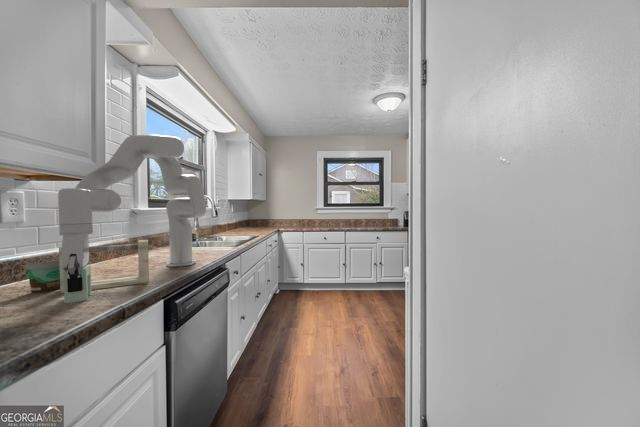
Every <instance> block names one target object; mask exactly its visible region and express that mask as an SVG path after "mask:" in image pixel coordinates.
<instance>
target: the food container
mask: <svg viewBox="0 0 640 427" xmlns="http://www.w3.org/2000/svg"><path fill="white" fill-rule="evenodd" d="M24 270H27V275H28V280H29V286H30V292H31V293H33V294H34V293H35V294H36V293H39V294H40V293H47V292H54V291H58V290H60V264H59V259H56V260H55V259H54V260H52V259H51V260H45V261H40V262H39V261H38V262H37V261H36V262H26V264H25V266H24Z"/></svg>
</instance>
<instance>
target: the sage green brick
mask: <svg viewBox="0 0 640 427" xmlns="http://www.w3.org/2000/svg"><path fill="white" fill-rule="evenodd" d="M75 267H79V266H75ZM91 268H92V266H91V264H89V263H87V264H86V265H85V266H84V267H83V268H81V277H82V287H83V289H82V291H77V292H68V287H67V279H68V278H67V276H68V268H67V269H65V270H64V271H63V275H64V293H63V297H64V298H63V299H64V302H63V304H70V303H79V302H86V301H88V300H89V296H91V295H92V290H91V281H92V269H91ZM77 271H78V270H77Z"/></svg>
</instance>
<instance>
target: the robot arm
mask: <svg viewBox="0 0 640 427" xmlns="http://www.w3.org/2000/svg"><path fill="white" fill-rule="evenodd" d="M184 152H185V144H184V142H183V141H182V140H181V138H179V137H177V136H171V135H161V134H135V135H129V136H127V137H126V138H125V139H124V140H123V142H122V143H121V144H120V145H119V146H118V148H117V149H116V151H115V152H114V154H113V155H112V156H111V158H110V159H109V160H108V161H107V162H106V163H104V164H102V165H100V166H99V167H97V168H95V169H94V170H93V171H91V172H89V173H87V174H86V175H85V176H84V177H83V178H82V179H80V181H79V182H78V183H77V185H76V186H75V188H74V187H73V188H72V187H71V188H69V187H68V188H67V187H66V188H61V189H59V190H58V193H57V201H58V202H57V203H58V204H57V205H58V207H57V208H58V229H59V230H58V231H59V232H58V234H59V236H61V237H62V241H61V246H62V258H61V268H62V269H63V270H65V269H67V268H68V276H67V278H68V279H67V287H68V292H77V291H82V289H83V287H82V277H81V268H83V267H84V266H85V265H88V264H89V262H90V253H89V247H90V242H89V239H90V238H89V235H93V233H94V232H93V228H94V227H93V213H110V212H114V211H116V210H117V209H119V208H120V206H121V204H122V197H121V195H120V194H119V193H118V192H116V191H114V190H112V189H107V188H109V187H110V186H111V187H112V186H113V185H115V184H118V183H121V182H123V181H124V182H125V181H126V180H128V179H131V178H132V177H134V175H136V172H137V171H138V169H139V168H140V167H141V165H142V163H143V162H144V160H145V159H149V158H150V159H153V161H154V162H156V164H157V165H158V167H159V170H160V173H161V176H162V180H163V185H164V189H165V191H166V193H167V194H168V195H170V196H175V198H171V199H169V200H168V201H167V203H166V205H165V206H166V214H167V218H168V224H169V225H168V226H169V227H168V228H169V229H168V230H169V234H168V235H169V261H167V262H166V267H186V266H192V265H195V264H196V263H197V260H196V259H193V227H192V224H191V221H190V220H189V219H198V218H203V216H206V213H207V204H206V199H205V193H204V188H203V184H202V181H201V179H200V178H199V177H198V176H196V175H195V174H184V172H183V168H182V164H181V162H180V161H179V159H178V158H180V157H182V155H183V154H184ZM176 196H180V197H176ZM182 196H184V197H182ZM185 196H187V197H185ZM75 266H79V267H75ZM77 270H78V271H77Z"/></svg>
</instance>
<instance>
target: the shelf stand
mask: <svg viewBox="0 0 640 427" xmlns="http://www.w3.org/2000/svg"><path fill="white" fill-rule="evenodd" d="M135 250H137V253H138V254H137V255H138V257H137V258H138V260H137V261H138V262H137V264H138V275H135V276H134V275H133V276H128V277H126V276H125V277H118V278H116V277H115V278H109V279H108V278H107V279H100V280H91V291H92V290H100V289H106V288H113V287H114V288H115V287H123V286H130V285H132V286H133V285H138V284H139V285H140V284H146V283H150V268H149V267H150V264H149V239H138V241H137V243H132V244H130V243H129V244H118V245H101V246H89V254H94V253H104V252H105V253H106V252H120V251H121V252H122V251H135ZM58 258H59V259H58V260H59V264H60V289H59V290H60V295H62V294H64V275H63V271H64V270H63V269H62V268H61V258H62V245H59V247H58Z"/></svg>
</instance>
